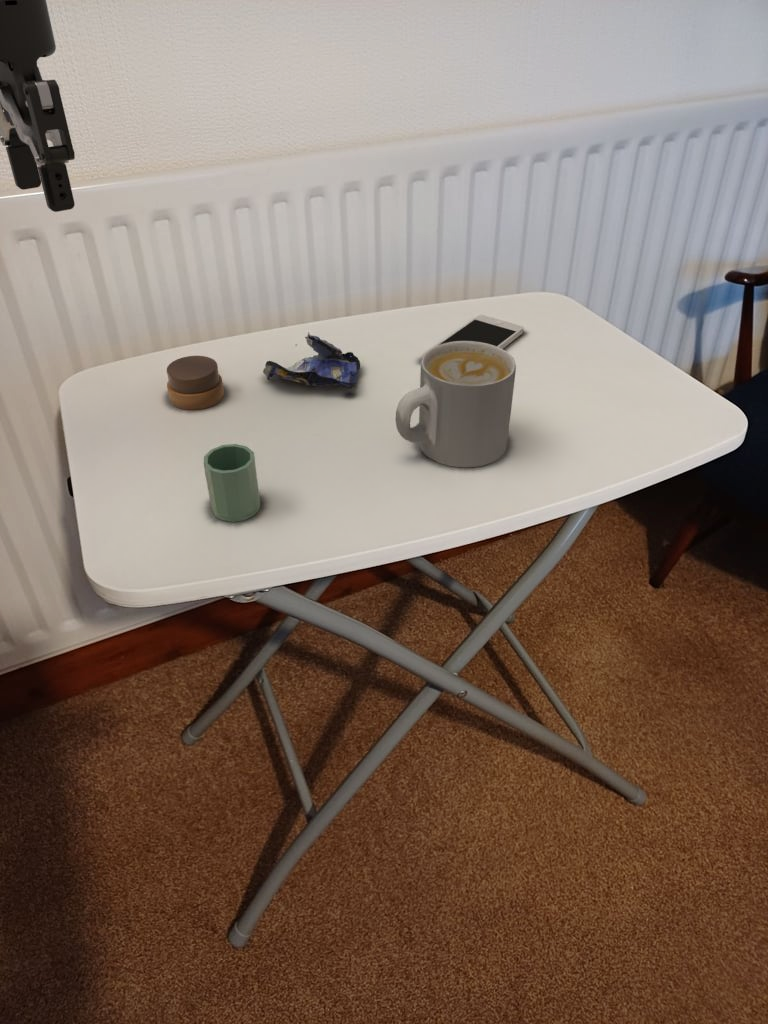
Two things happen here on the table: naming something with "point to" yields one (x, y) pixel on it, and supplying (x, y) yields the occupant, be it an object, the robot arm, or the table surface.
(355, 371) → the snack package
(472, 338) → the smartphone
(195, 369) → the walnut chip
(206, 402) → the oak chip
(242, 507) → the plastic cup
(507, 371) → the coffee mug
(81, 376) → the table surface
